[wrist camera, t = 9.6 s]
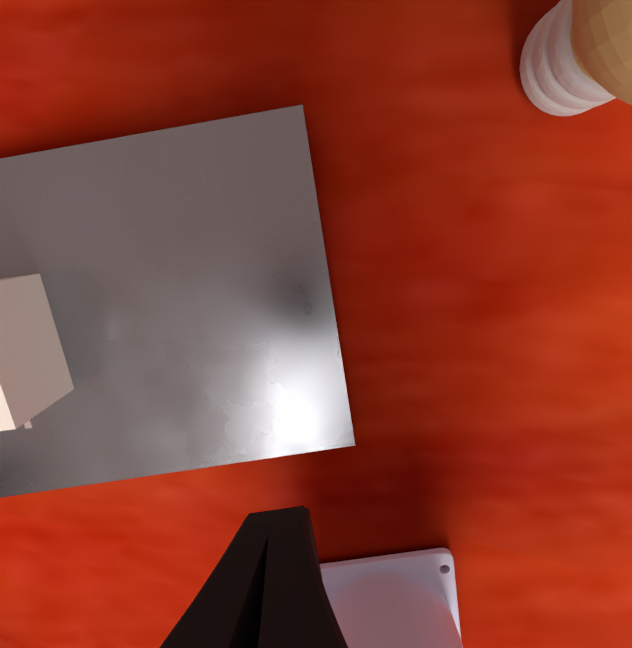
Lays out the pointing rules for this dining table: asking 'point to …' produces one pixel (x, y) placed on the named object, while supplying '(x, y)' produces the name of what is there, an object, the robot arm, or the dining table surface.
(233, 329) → the panel
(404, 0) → the dining table surface
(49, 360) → the knob
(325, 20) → the dining table surface
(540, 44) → the light bulb
